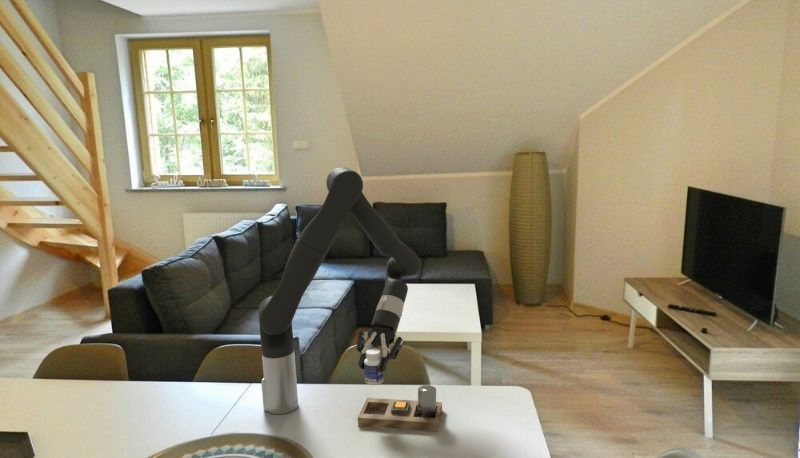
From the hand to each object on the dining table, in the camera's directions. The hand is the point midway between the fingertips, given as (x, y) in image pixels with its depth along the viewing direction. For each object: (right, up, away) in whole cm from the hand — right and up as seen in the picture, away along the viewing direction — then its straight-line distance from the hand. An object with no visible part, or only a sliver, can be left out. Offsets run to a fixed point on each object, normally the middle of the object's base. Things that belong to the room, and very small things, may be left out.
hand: (370, 369), depth 147 cm
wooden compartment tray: (+8, -14, +3) cm, 17 cm away
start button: (+8, -11, +2) cm, 14 cm away
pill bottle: (+1, -4, +2) cm, 5 cm away
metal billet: (+15, -14, +2) cm, 21 cm away
